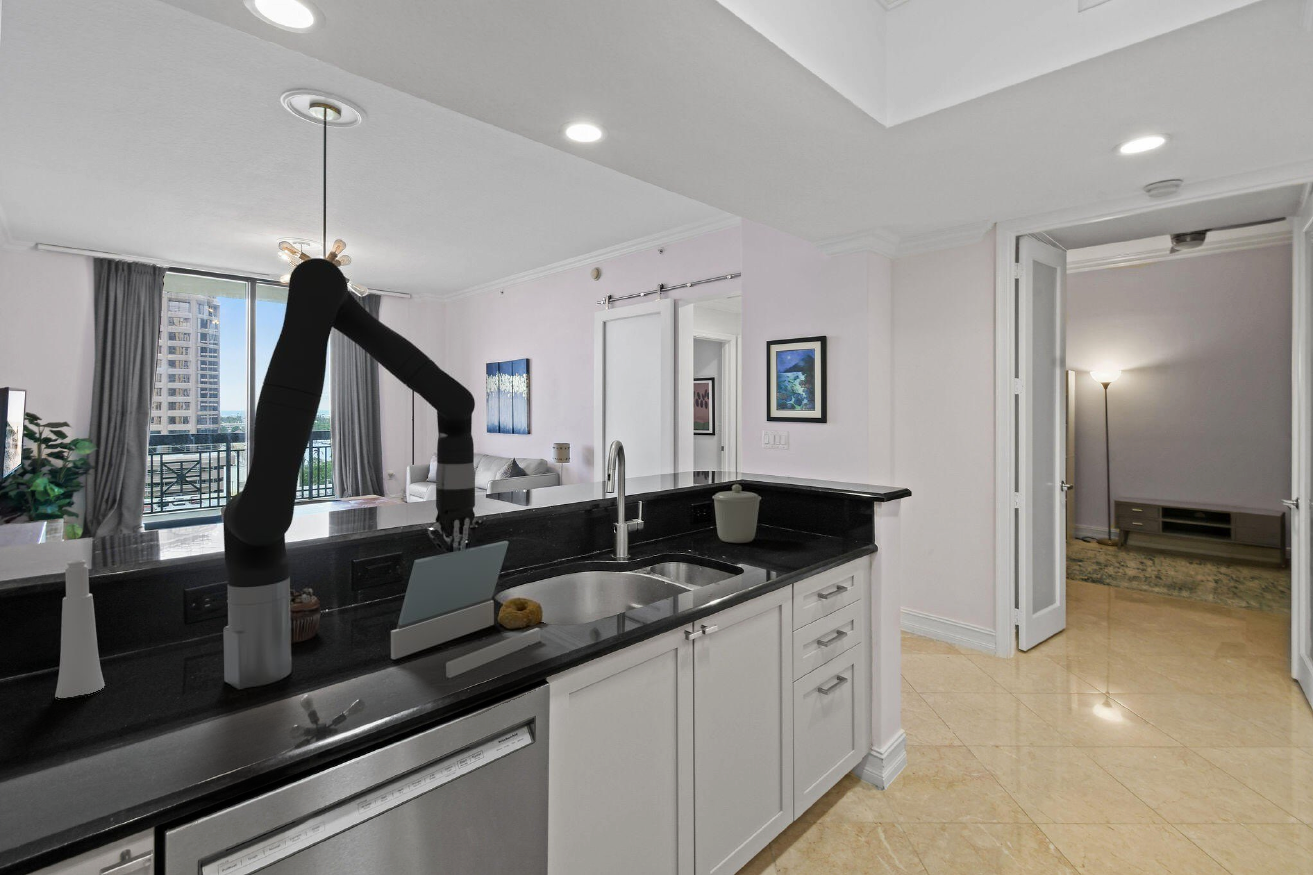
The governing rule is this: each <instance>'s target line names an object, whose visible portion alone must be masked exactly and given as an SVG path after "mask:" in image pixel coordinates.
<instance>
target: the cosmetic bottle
mask: <svg viewBox="0 0 1313 875" xmlns="http://www.w3.org/2000/svg"><path fill="white" fill-rule="evenodd" d="M86 563H87V560H86V559H75V560H70V561H68V562H67V563H66V564H67V566H68V567H66V568H65V572H64V573H65V575H64V576H65V596H64V597H63V598H62V609H61V629H60V630H61V632H60V635H61V636H60V656H59V657H60V659H59V660H60V661H59V671H58V677H57V678H58V679H57V685H56V690H55V695H54V697H55V698H56V697H58V698H67V697H74V696H78V695H84V694H90V693H93V692H96V691H98V690H100V691H102V690H103V689H104V688H105V687H104V686H106V684H105V681H104V677H103V673H102V669H101V664H100V663H101V662H100V657H99V656H100V655H99V649H98V639H97V638H98V637H97V628H96V617H95V616H96V614H95V605H94V604H95V603H94V598H93V596H94V595H93V593H90V583H89V581H90V580H89V577H90V576H89V566H88V565H86ZM102 688H103V689H102ZM101 689H102V690H101ZM98 692H99V691H98ZM96 693H97V692H96Z"/></svg>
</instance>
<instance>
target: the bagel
mask: <svg viewBox="0 0 1313 875" xmlns="http://www.w3.org/2000/svg"><path fill="white" fill-rule="evenodd" d="M543 612H544V611H543V608H542V605H541V604H540V603H539V602H537V601H535V600H533V599H529V598H524V597H514V598H510V599H508V600H506V601H504V602H503V605H502V606H501V608H500V610H499V613H498V617H497V621H498V623H499V624H501V625H502V626H503V627H504V628H506V629H508V630H514V629H524V628H526V627H531V626H532V627H534V626H535V625H537V624H540V623H539V622H541V623H542V622H543V617H544V616H543Z"/></svg>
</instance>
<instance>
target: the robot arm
mask: <svg viewBox="0 0 1313 875" xmlns="http://www.w3.org/2000/svg"><path fill="white" fill-rule="evenodd" d="M288 284H289V285H288V291H287V292H288V293H287V301H286V307H285V313H284V319H283V324H282V326H281V331H280V334H279V337H278V339H277V342H276V344H275V347H274V349H273V352H272V355H271V358H270V360H269V364H268V367H267V371H266V373H265V376H264V378H263V382H262V386H261V388H260V392H259V396H258V400H257V404H256V409H255V416H254V430H253V432H254V433H253V455H252V461H251V464H250V468H249V472H248V475H247V478H246V480H245V483H244V486H243V489H242V490H241V491H240V492H237V493H236V494H235V495H233V496H232V497H231V498H230V499H229V501H228V502H227V503H226V506H225V508H224V512H223V519H222V520H223V546H224V566H225V569H226V579H227V580H226V581H227V622H228V623H227V626H224V627H223V665H224V666H223V668H224V669H223V671H224V673H223V674H224V676H223V677H224V682H226V683H228V684H229V685H231V686H232V687H234V688H235V689H237V690H243V689H246V688H252V687H260V686H265V685H269V684H272V683H275V682H278V681H281V680H283V679H284V678H286V677H287V676H289V675H290V674H291V672H292V660H293V659H292V643H291V621H290V589H291V571H290V570H291V569H290V568H291V567H290V566H291V565H290V560H289V558H288V554H287V549H286V548H287V547H286V535H285V534H286V533H287V532H288V530H289V528H290V527H291V525H292V522H293V517H294V513H295V512H294V511H295V503H296V496H297V488H298V482H299V476H300V470H301V467H302V463H303V460H304V457H305V455H306V451H307V448H308V445H309V442H310V439H311V435H312V432H313V429H314V425H315V422H316V419H317V415H318V411H319V408H320V403H321V399H322V395H323V391H324V386H325V378H326V369H327V357H328V356H327V355H328V354H327V353H328V344H329V339H330V335H331V332H332V328H333V329H334V330H336V331H337V332H340V333H341V334H342V335H344V336H345V337H347V338H348V339H350V341H352V342H354V343H355V344H356V345H358V346H359V347H360V348H361V349H362V350H364V352H366V354H368V355H369V356H370V357H371V358H373V359H374V361H376V362H377V363H378V364H380V366H382V367H383V368H384V369H385V370H387V371H388V373H390V374H391V375H393V377H395V378H396V379H397V380H399V382H401V383H402V384H403V385H405V386H406V387H407V388H409V389H410V390H412V391H413V392H414V393H417V394H418V395H419V396H420V397H421V398H422V399H423V400H425V402H427V403H428V404H429V405H430V406H431V407H433V408H434V410H436V417H437V419H436V420H437V421H436V422H437V432H438V434H437V445H436V446H437V448H436V462H437V463H436V470H435V509H436V511H437V515H436V517H435V523H434V524H433V525H432V526H431V527H426V529H425V533H426V535H427V537H428V538H429V539H430V540H431V541H432V543H433V544H434V545H435V546H436V547H437V549H438V550H440V551H444V552H446V553H451V552H456V551H460V550H465V549H468V548H472V546H473V545H474V543H475V542H476V540H477V538H478V536H479V534H480V532H481V530H482V529H483V527H484V526H485V523H484V520H480V519H478V518H477V517H476V513H475V511H474V508H475V507H476V470H475V463H474V462H475V460H474V458H475V457H474V456H475V451H474V450H475V447H474V446H475V445H474V439H473V438H474V437H473V434H472V426H473V425H472V424H473V413H474V410H475V407H476V401H475V397H474V395H473V394H472V392H471V391H470V390H469V389H468V388H466V387H465V386H464V385H463V384H462V383H460V382H459V381H458V380H456V379H455V378H454V377H452V376H451V375H449V373H447V372H446V371H444V370H443V369H442V368H440V366H438V365H437V364H436V363H435V362H434V360H432V359H431V358H430V357H429V356H428V355H427V354H425V353H424V352H423V351H422V350H420V349H419V348H418V347H417V346H416V345H415V344H414V343H412V342H411V341H410V340H409V339H407V338H406V337H405V336H403V335H401V334H399V333H398V332H396V331H395V330H393V329H392V328H390V327H389V326H387V325H386V324H384V323H382V322H381V321H380V320H379V319H377V318H376V317H375V316H373V315H372V314H371V313H370V312H369V311H367V309H365V308H364V306H363V305H361V303H360V302H359V301H358V300H357V299H356V298H355V297H354V295H353V294H352V293H351V292H350V291H349V288H348V287H349V286H348V282H347V278H346V277H345V274H344V273H343V272H342V270H341V269H340V268H339V267H338V266H337V265H336V264H335V263H333V262H332V261H331V260H329V259H325V258H321V257H312V258H308V259H305V260H303V261H302V262H300V263H298V264H297V265H296V266H295V267H294V269H293V270H292V272H291V274H290V276H289V282H288Z"/></svg>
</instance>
